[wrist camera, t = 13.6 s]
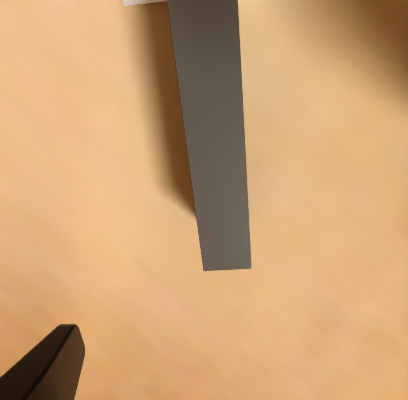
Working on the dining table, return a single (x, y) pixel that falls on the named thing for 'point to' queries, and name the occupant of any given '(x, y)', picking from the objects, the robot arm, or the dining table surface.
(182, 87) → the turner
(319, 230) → the dining table surface
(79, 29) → the dining table surface
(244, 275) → the dining table surface
